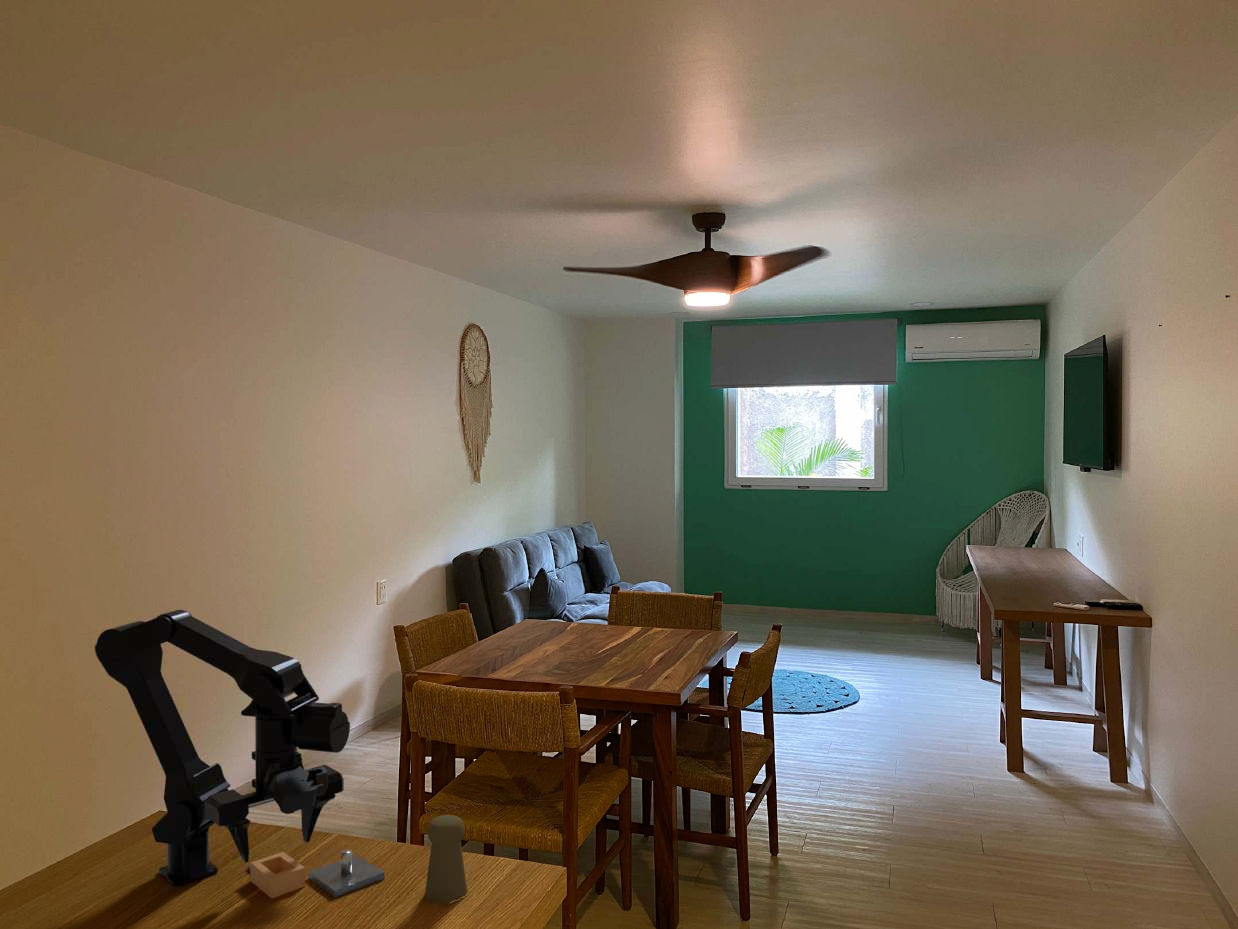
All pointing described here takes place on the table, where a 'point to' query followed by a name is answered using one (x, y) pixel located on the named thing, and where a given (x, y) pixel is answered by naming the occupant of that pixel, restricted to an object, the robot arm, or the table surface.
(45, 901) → the table surface
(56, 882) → the table surface
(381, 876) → the plate
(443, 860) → the olive game pawn
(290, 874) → the link
